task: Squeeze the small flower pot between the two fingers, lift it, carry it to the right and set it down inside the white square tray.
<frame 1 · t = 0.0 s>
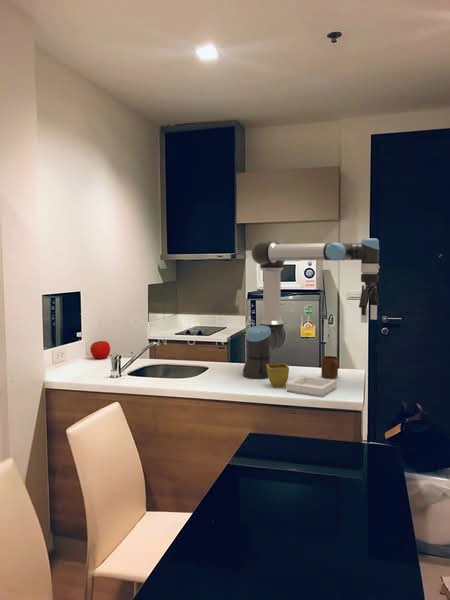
hand: (369, 321, 226), 28 cm above the kitchen counter, fingers open, 13 cm apart
white square tray: (312, 390, 216), on the kitchen counter
tomato: (100, 358, 289), on the kitchen counter
mug: (331, 378, 237), on the kitchen counter
flower pot: (277, 386, 224), on the kitchen counter
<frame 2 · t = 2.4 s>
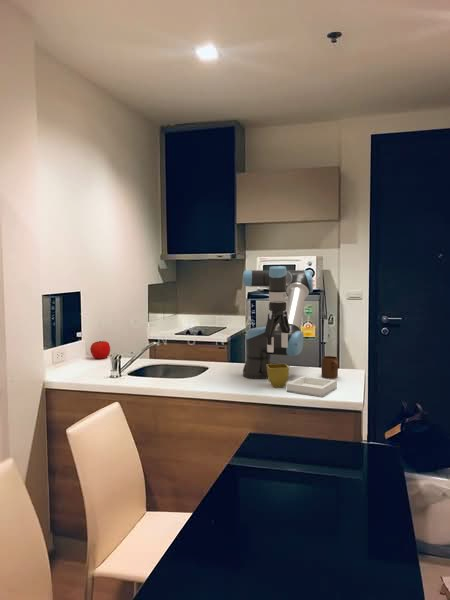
hand: (277, 349, 222), 16 cm above the kitchen counter, fingers open, 13 cm apart
nothing on the kitchen counter moved.
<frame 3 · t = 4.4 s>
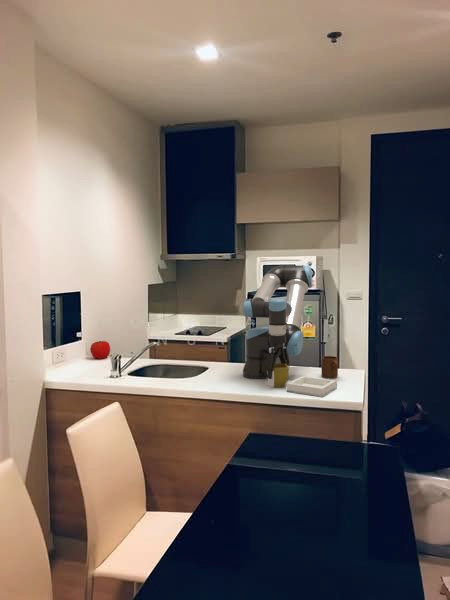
hand: (277, 383, 224), 1 cm above the kitchen counter, fingers closed on flower pot, 11 cm apart
flower pot: (277, 386, 224), on the kitchen counter, touching gripper
everything else where it was.
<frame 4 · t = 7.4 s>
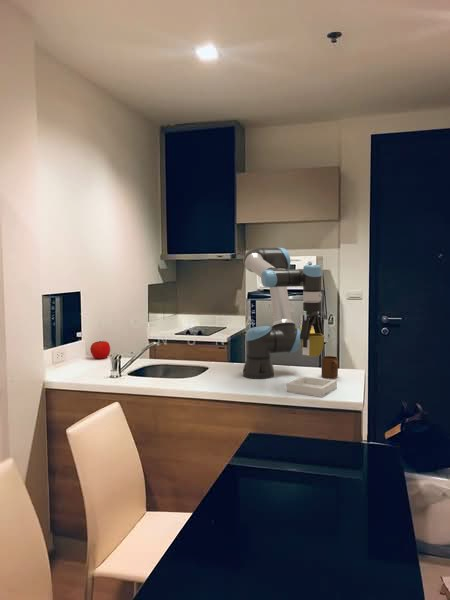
hand: (311, 352, 215), 16 cm above the kitchen counter, fingers closed on flower pot, 11 cm apart
flower pot: (311, 356, 215), point 15 cm above the kitchen counter, touching gripper
everything else where it was.
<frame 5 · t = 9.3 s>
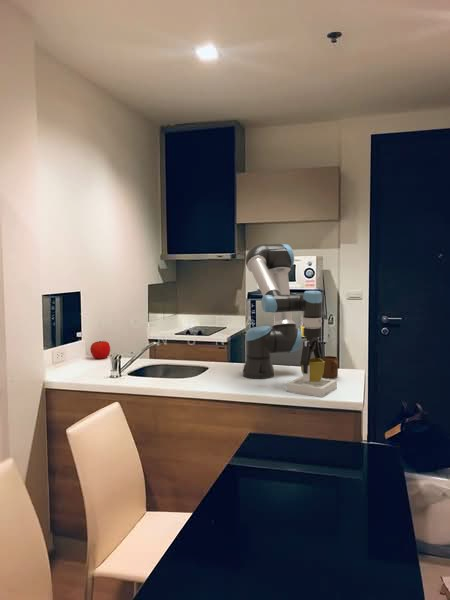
hand: (312, 378, 215), 5 cm above the kitchen counter, fingers closed on flower pot, 11 cm apart
flower pot: (312, 381, 216), point 4 cm above the kitchen counter, touching gripper
everything else where it was.
when the fingers open (5 cm above the kitchen counter, at t = 10.5 s): flower pot drops 1 cm, resting on white square tray.
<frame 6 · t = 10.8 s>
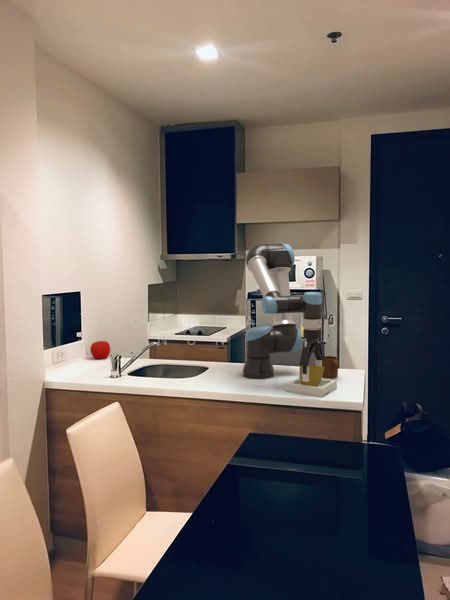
hand: (312, 378, 215), 5 cm above the kitchen counter, fingers open, 13 cm apart
flower pot: (309, 387, 214), point 2 cm above the kitchen counter, touching white square tray, gripper
everything else where it was.
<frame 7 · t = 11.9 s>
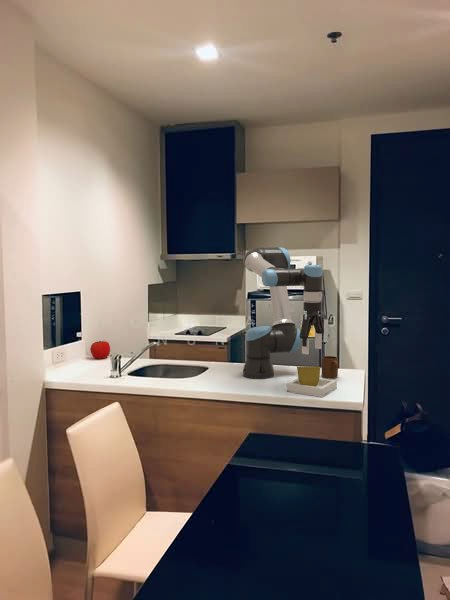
hand: (311, 351, 215), 17 cm above the kitchen counter, fingers open, 13 cm apart
flower pot: (308, 388, 214), point 1 cm above the kitchen counter, touching white square tray
everything else where it was.
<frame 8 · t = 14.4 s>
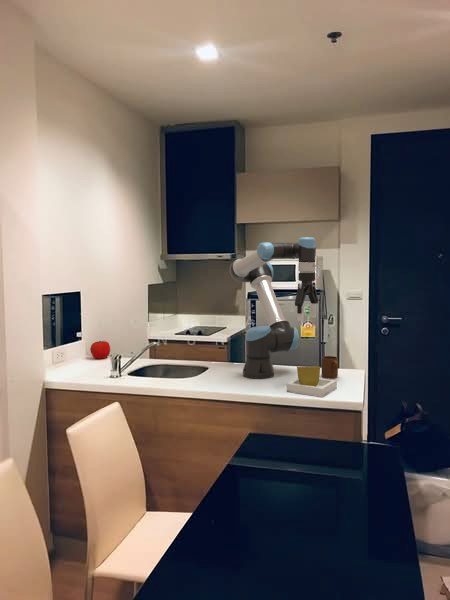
hand: (306, 319, 228), 29 cm above the kitchen counter, fingers open, 13 cm apart
nothing on the kitchen counter moved.
at the end: flower pot 2.6 cm from the white square tray (horizontally); flower pot point 1.2 cm above the kitchen counter; flower pot tilted 12° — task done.
